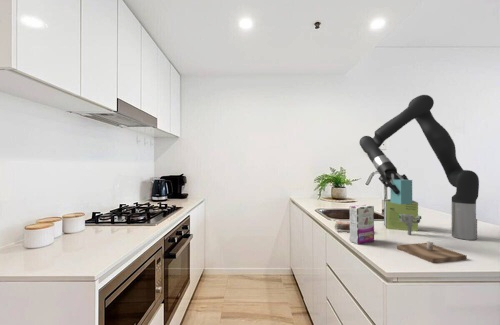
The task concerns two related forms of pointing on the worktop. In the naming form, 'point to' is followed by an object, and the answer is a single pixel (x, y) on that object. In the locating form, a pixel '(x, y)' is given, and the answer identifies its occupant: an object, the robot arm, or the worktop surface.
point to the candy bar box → (361, 224)
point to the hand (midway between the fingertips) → (404, 192)
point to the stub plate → (431, 252)
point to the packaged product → (342, 227)
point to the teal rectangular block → (402, 192)
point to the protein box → (394, 210)
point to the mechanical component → (409, 220)
